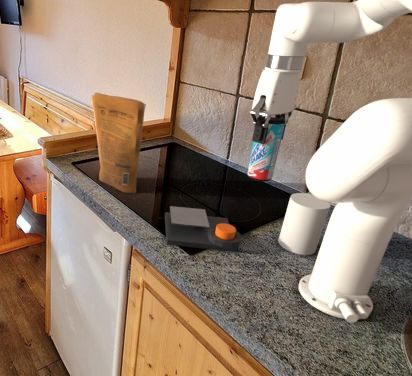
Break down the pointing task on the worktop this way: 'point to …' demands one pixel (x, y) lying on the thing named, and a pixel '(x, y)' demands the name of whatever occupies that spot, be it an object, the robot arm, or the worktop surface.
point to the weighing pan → (189, 217)
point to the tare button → (225, 231)
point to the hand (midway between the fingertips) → (267, 139)
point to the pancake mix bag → (118, 139)
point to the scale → (200, 235)
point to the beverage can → (266, 152)
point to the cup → (303, 223)
